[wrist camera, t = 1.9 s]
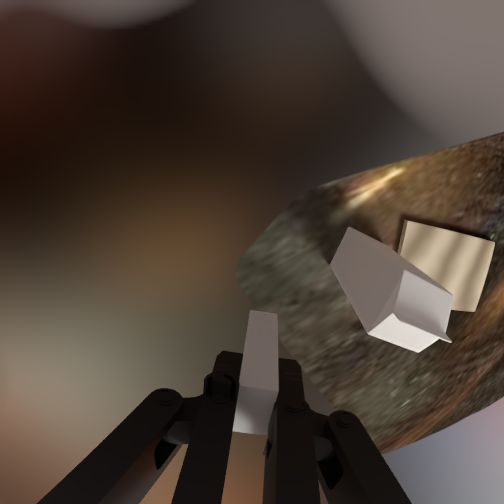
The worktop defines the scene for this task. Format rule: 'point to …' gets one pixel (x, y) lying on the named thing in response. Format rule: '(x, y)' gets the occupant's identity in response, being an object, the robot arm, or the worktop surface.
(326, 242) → the worktop surface
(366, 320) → the white carton-shaped block
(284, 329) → the worktop surface
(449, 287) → the board
